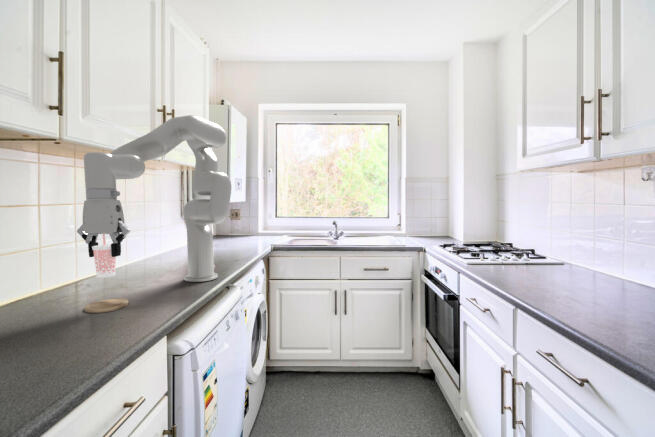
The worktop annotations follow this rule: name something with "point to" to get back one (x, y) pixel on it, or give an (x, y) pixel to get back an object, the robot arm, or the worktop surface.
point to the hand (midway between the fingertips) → (105, 255)
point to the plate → (106, 305)
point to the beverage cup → (104, 260)
